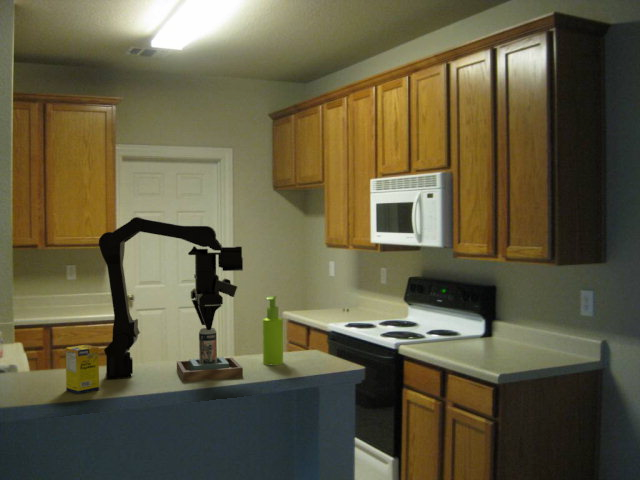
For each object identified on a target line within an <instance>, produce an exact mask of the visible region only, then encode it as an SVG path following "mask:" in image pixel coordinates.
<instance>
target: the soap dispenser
mask: <svg viewBox="0 0 640 480" xmlns="http://www.w3.org/2000/svg"><path fill="white" fill-rule="evenodd" d="M277 298H278V296H277V295H268V296H267V297H266V299H265V300H266V301H269V306H267V307H266V318H263V319H262V355H263V357H262V360H263V361H262V363H264V364H263V365H266V364H272V365H271V366H276V365H275V364H279V365H281V363H282V364H284V324H283V323H284V321H283V318H282V317H279V307H278V306H277V305H276V299H277Z"/></svg>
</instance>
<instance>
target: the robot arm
mask: <svg viewBox="0 0 640 480" xmlns="http://www.w3.org/2000/svg"><path fill="white" fill-rule="evenodd" d="M139 233H145V234H146V233H147V234H152V235H158V236H163V237H170V238H174V239H179V240H183V241H185V242H188V243H190V244H193V245H194V246H192V248H191V249H190V251H189V252H188V253H187V254H188V256H194V260H195V261H194V262H195V265H194V267H195V268H194V269H195V271H194V273H195V274H193V275H194V276H193V278H194V279H195V282H194V283H195V288H193V289H191V291H190V299H191V303H192V305H193V306H194V309H195V311H196V315H197V316H198V319H199V322H200V323H201V325H202V326H205V328H206V329H207V330H211V328H213V323H214V318H215V315H216V312H217V310H218V309H220V308H221V307H222V305H223V304H224V301H223V300H224V297H223V296H222V295H221V294H220V293H222V294H225V295H226V296H230V297H231V298H234V297H235V294H236V292H237V290H238V286H237V285H235V284H232V283H231V280H230V279H228V278H223V279H222V280H219V279H220V276H219V275H217V266H218V268H221V269H222V272H228V271H229V272H233V271H235V272H236V271H237V272H239V271H240V272H243V270H244V264H243V263H244V258H243V247H242V246H239V245H238V246H224V247H223V246H222V243H220V242H219V240H218V239H217V232H216V230H215V229H214V228H213V227H211V226H209V225H181V224H175V223H170V222H164V221H157V220H153V219H147V218H143V217H141V216H139V217H138V216H137V217H132V219H130V220H128V222H126V223H125V224H123V225H121V226H119V227H118V228H117V229H115V230H114V231H108V232H104V233H102V234H101V236H100V237H99V239H98V246H99V250H100V252H101V256H102V258H103V259H104V262H105V265H106V267H107V274H108V280H109V282H108V283H109V289H110V295H111V302H112V303H111V304H112V309H113V317H114V318H113V325H112V341H111V342H110V343H109V344H108V345H107V346H106V347H105V348H104V349H103V351H104V354H105V358H106V359H105V361H106V363H105V365H106V366H105V367H106V368H105V369H106V370H105V371H106V372H105V378H106V380H110V379H111V380H112V379H123V378H124V379H125V378H132V374H133V373H134V372H133V371H134V370H133V363H134V362H133V357H132V356H131V353H130V352H131V351H130V349H131V348H132V347H133V346H134V345H135V343H136V342H137V341H138V338H139V337H138V336H139V334H141V332H140V330H139V319H138V318H136V319H133V317H132V315H131V313H130V307H129V299H128V292H127V291H128V290H127V285H126V278H125V269H124V257H125V246H126V245H125V243H126V242H128V241H130V240H131V239H132V238H134V237H135V236H136V235H137V234H139ZM196 245H197V246H199V247H202V248H197V247H196ZM207 247H208V248H210V249H211V250H213V251H218V252H213V251H212V252H211V251H210V252H209V250H208V248H207ZM219 251H220V252H219ZM217 256H218V257H217ZM217 258H218V260H217ZM217 261H218V265H217Z"/></svg>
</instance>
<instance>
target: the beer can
mask: <svg viewBox="0 0 640 480" xmlns="http://www.w3.org/2000/svg"><path fill="white" fill-rule="evenodd" d="M217 338H218V337H217V330H216V329H215V328H214V327H212V328H211V330H207V329H206V327H204V328H200V329H199V331H198V345H199V346H198V349H199V353H198V354H199V358H198V359H200V364H212V363H217V357H218V353H217V352H218V350H217V349H218V347H217Z"/></svg>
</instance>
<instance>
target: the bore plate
mask: <svg viewBox="0 0 640 480" xmlns="http://www.w3.org/2000/svg"><path fill="white" fill-rule="evenodd" d="M225 358H226V357H224V356H217V363H212V364H200V359H199V358H189V370H190V371H196V370H210V369H223V368H229V363H228V362H227V361H226V360H225Z"/></svg>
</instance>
